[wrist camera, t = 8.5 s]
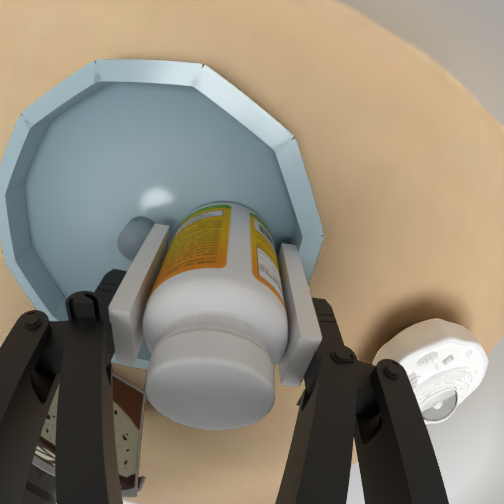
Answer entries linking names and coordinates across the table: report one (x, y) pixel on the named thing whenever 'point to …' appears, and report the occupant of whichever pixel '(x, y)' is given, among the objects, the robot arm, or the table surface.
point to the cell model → (438, 364)
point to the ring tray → (140, 173)
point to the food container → (126, 435)
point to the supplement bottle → (216, 321)
